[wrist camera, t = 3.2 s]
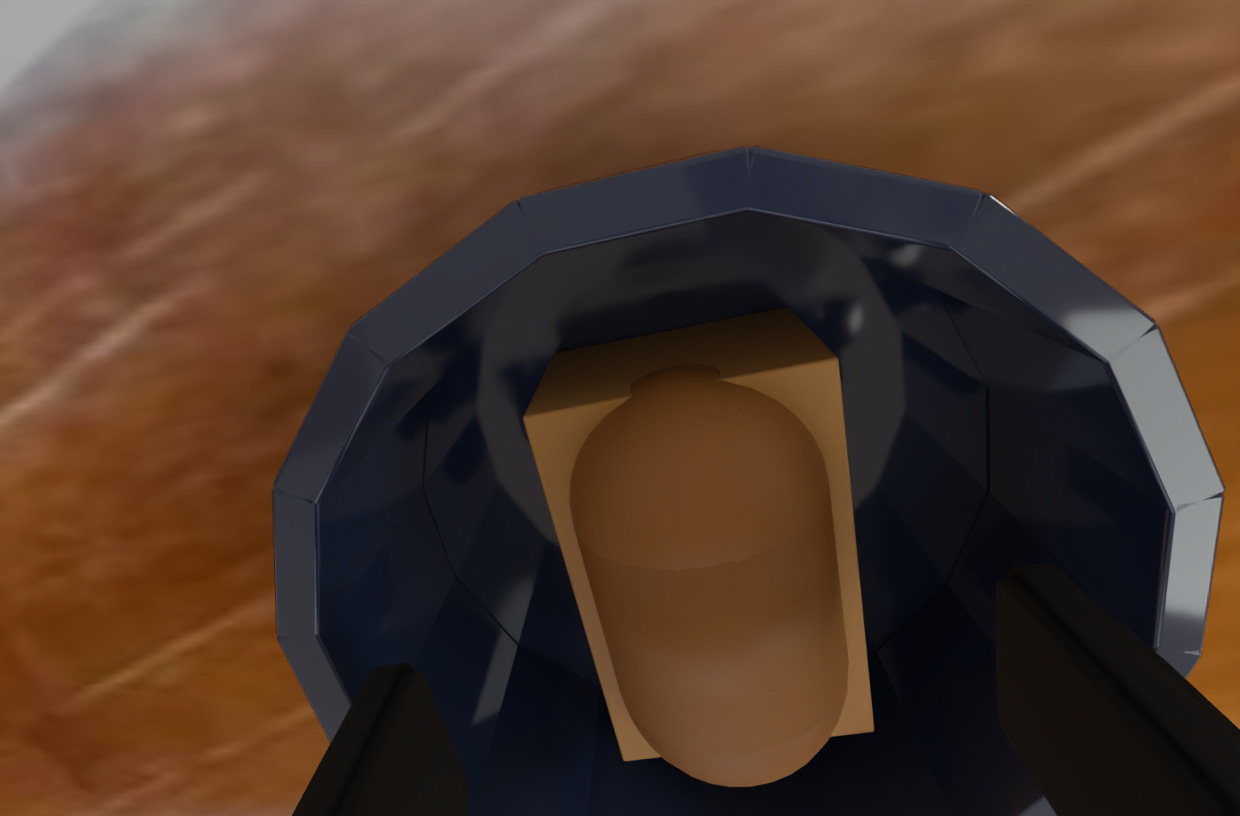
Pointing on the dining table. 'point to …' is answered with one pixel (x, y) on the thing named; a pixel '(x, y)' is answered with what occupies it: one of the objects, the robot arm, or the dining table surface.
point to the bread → (710, 541)
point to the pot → (877, 455)
